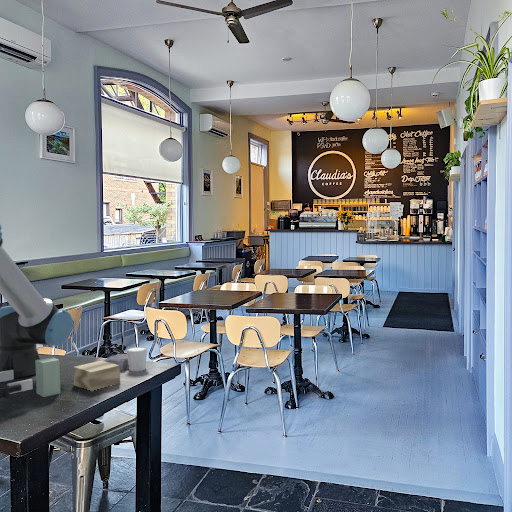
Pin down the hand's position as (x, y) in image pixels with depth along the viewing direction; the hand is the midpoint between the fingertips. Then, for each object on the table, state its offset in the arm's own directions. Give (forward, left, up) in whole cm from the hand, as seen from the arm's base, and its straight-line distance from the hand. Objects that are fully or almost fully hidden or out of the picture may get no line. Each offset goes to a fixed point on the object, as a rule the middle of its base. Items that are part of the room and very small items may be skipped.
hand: (22, 379), depth 155 cm
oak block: (+2, +22, -6) cm, 23 cm away
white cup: (-4, +40, -6) cm, 41 cm away
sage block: (0, +8, -6) cm, 10 cm away
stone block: (-13, +38, -6) cm, 40 cm away
